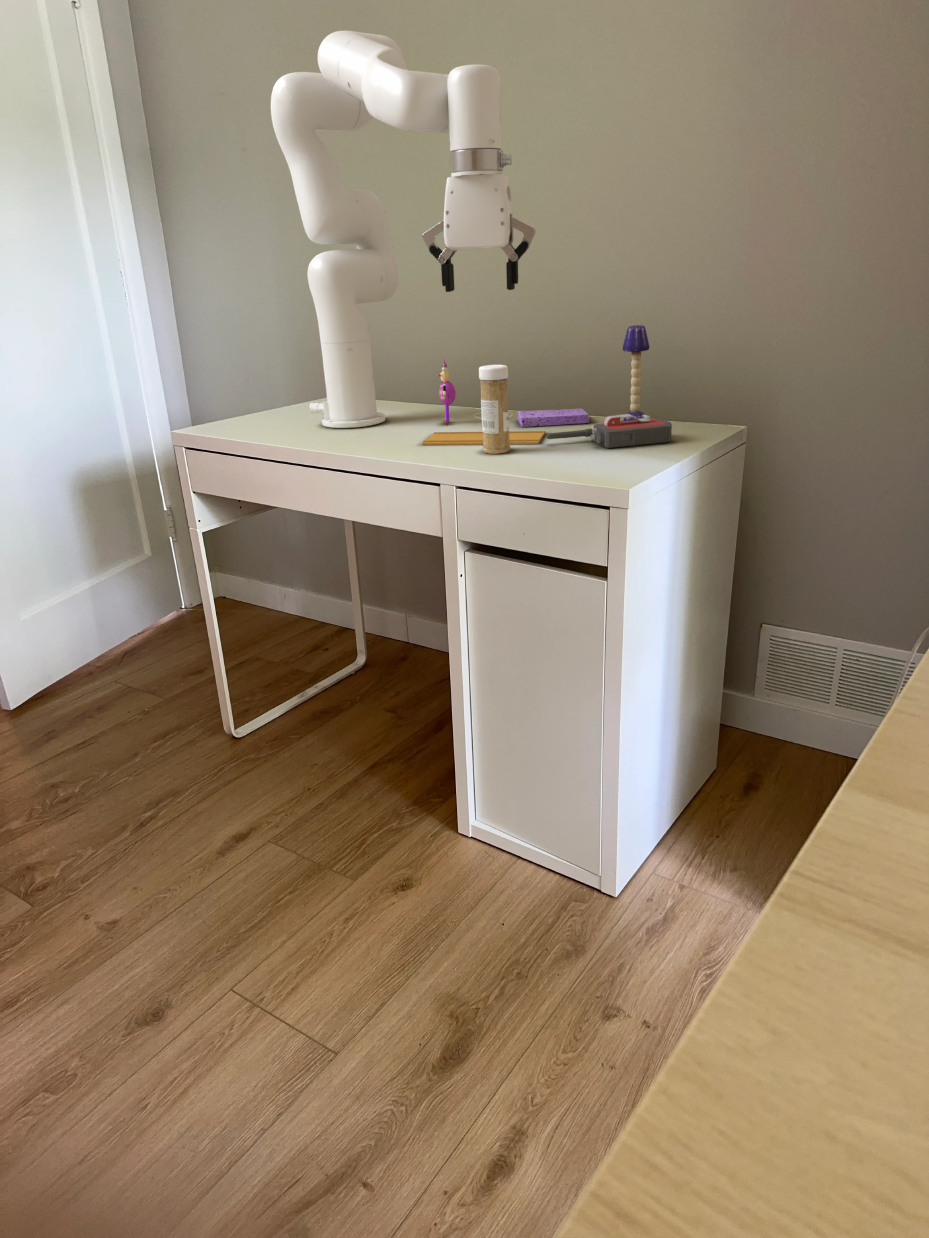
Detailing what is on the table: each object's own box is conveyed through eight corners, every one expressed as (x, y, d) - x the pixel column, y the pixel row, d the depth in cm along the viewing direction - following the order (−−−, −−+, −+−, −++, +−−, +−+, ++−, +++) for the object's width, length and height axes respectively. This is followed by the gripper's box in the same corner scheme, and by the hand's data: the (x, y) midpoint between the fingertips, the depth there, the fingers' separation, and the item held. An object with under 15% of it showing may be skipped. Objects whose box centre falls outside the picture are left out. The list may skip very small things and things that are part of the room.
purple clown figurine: (442, 418, 169) (438, 356, 164) (458, 418, 169) (454, 355, 164) (439, 429, 158) (435, 362, 154) (456, 428, 158) (452, 361, 154)
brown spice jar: (516, 451, 137) (513, 365, 132) (492, 456, 135) (489, 368, 130) (499, 447, 141) (496, 363, 136) (476, 451, 139) (472, 366, 133)
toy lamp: (649, 423, 153) (652, 326, 146) (623, 425, 153) (625, 327, 146) (644, 419, 157) (647, 324, 151) (619, 420, 157) (620, 325, 151)
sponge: (517, 420, 162) (517, 410, 162) (583, 417, 162) (583, 407, 162) (520, 427, 156) (520, 417, 155) (589, 423, 156) (589, 413, 155)
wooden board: (422, 445, 146) (422, 442, 146) (435, 434, 154) (435, 431, 154) (538, 444, 142) (538, 441, 142) (545, 433, 150) (545, 430, 150)
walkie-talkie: (657, 432, 145) (545, 443, 142) (658, 406, 143) (544, 416, 140) (680, 442, 137) (561, 453, 134) (681, 414, 135) (560, 425, 132)
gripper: (538, 163, 126) (539, 287, 133) (426, 171, 130) (432, 290, 137) (530, 160, 120) (531, 290, 126) (412, 167, 123) (420, 293, 130)
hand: (480, 290), depth 132 cm, fingers open, 9 cm apart
